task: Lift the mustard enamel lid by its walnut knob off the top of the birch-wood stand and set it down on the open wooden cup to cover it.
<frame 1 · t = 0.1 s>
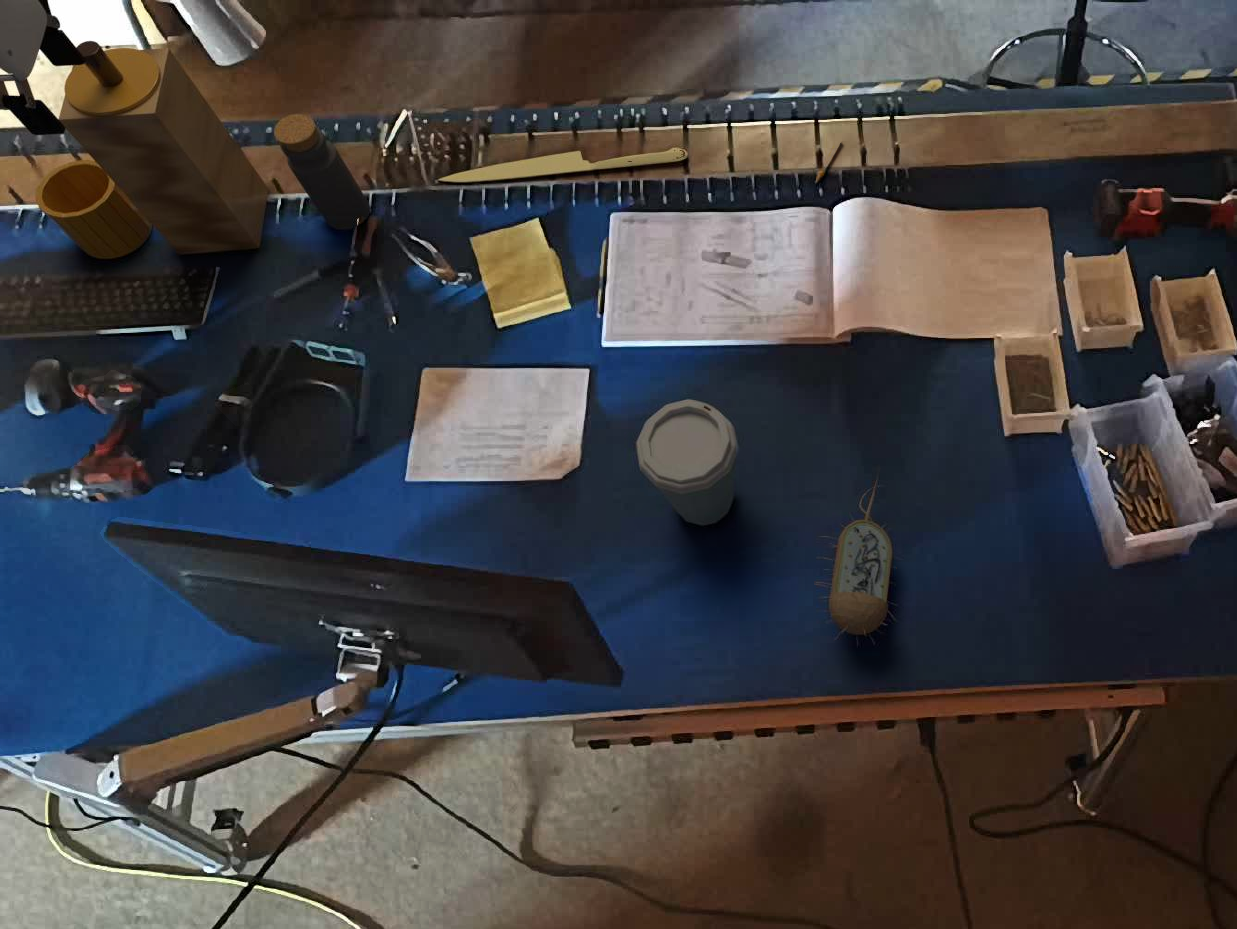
hand: (60, 97, 111), 28 cm above the table, tool pointing down, fingers open, 9 cm apart
bacterium: (862, 569, 120), on the table
lid: (114, 82, 118), point 23 cm above the table, touching stand
knife: (564, 166, 144), on the table
wooden cup: (115, 231, 137), on the table
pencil: (828, 164, 146), on the table
bottle: (348, 214, 140), on the table
disposable coffee cup: (702, 501, 123), on the table
stand: (224, 221, 138), on the table
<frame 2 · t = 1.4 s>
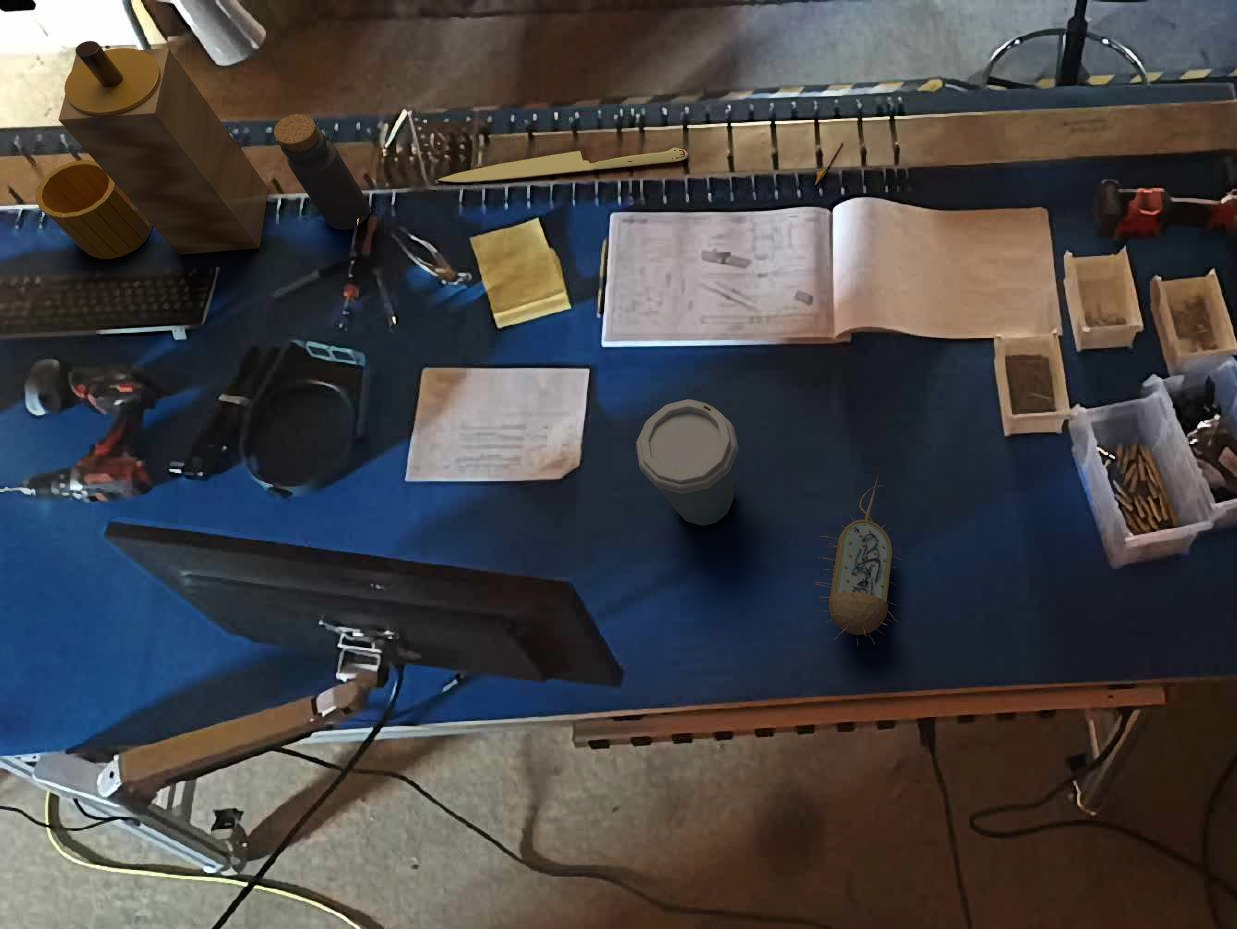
nothing on the table moved.
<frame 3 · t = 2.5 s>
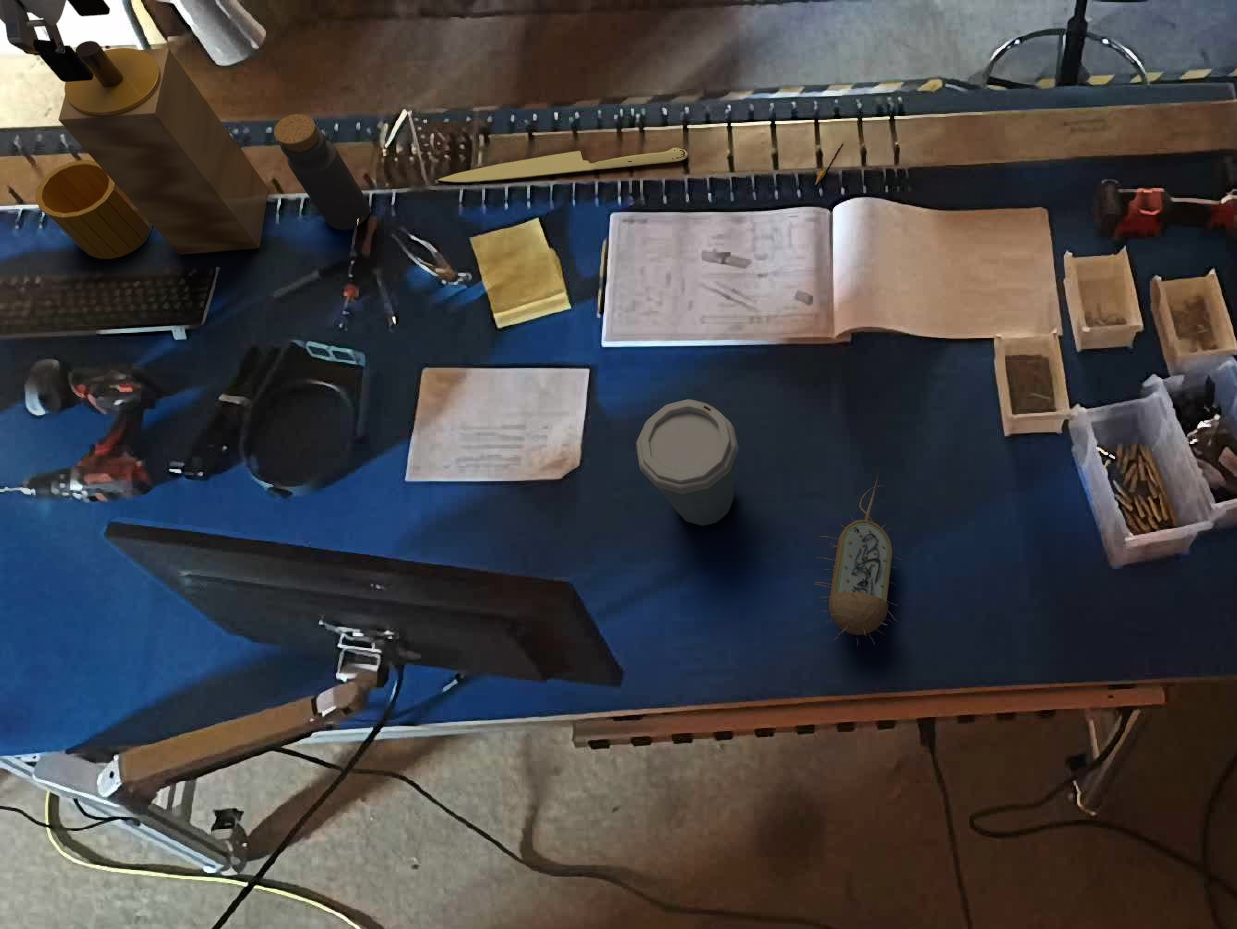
hand: (87, 45, 113), 28 cm above the table, tool pointing down, fingers open, 9 cm apart
nothing on the table moved.
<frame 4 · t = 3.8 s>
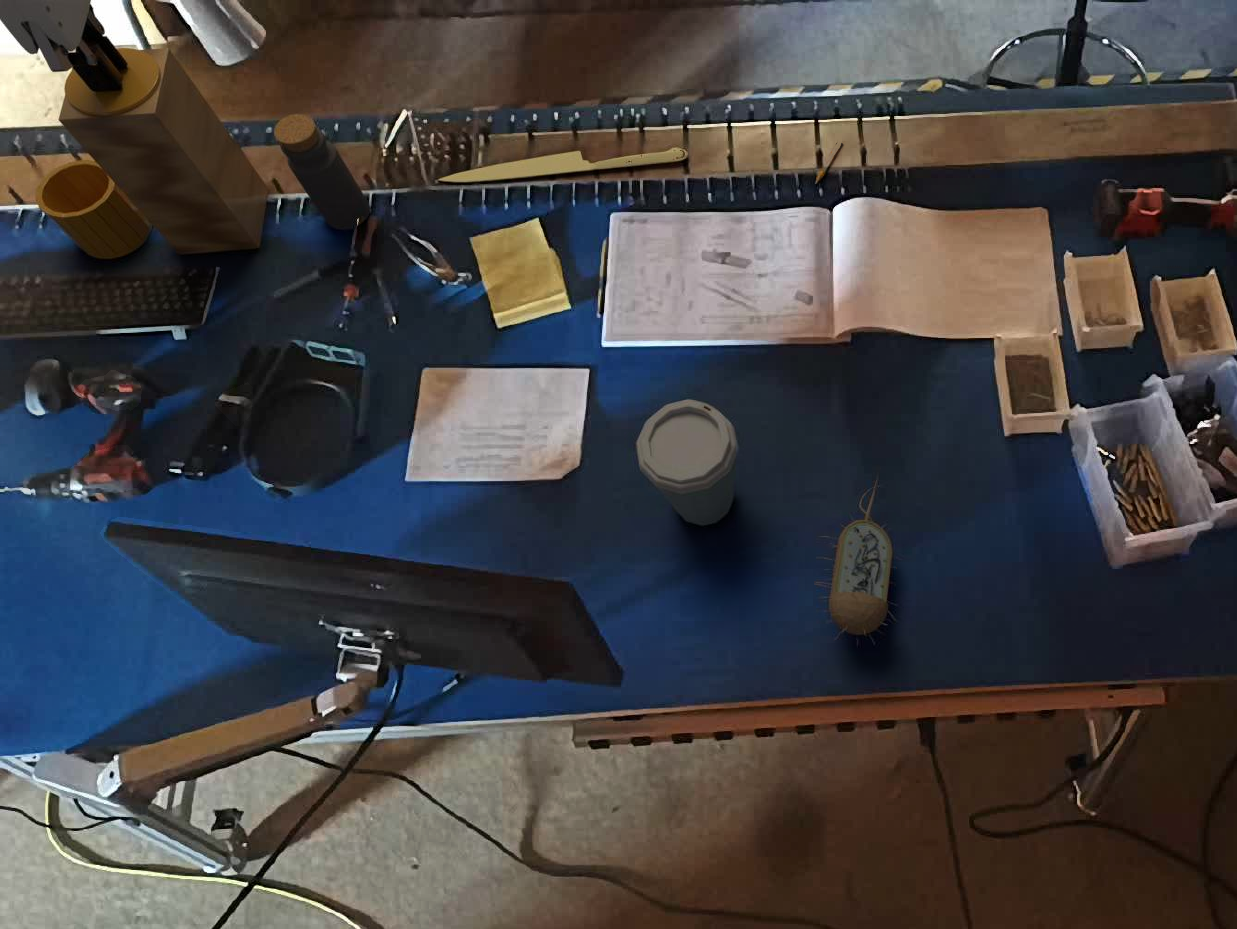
hand: (110, 77, 117), 24 cm above the table, tool pointing down, fingers closed on lid, 2 cm apart
lid: (114, 82, 118), point 23 cm above the table, touching gripper, stand
everything else where it was.
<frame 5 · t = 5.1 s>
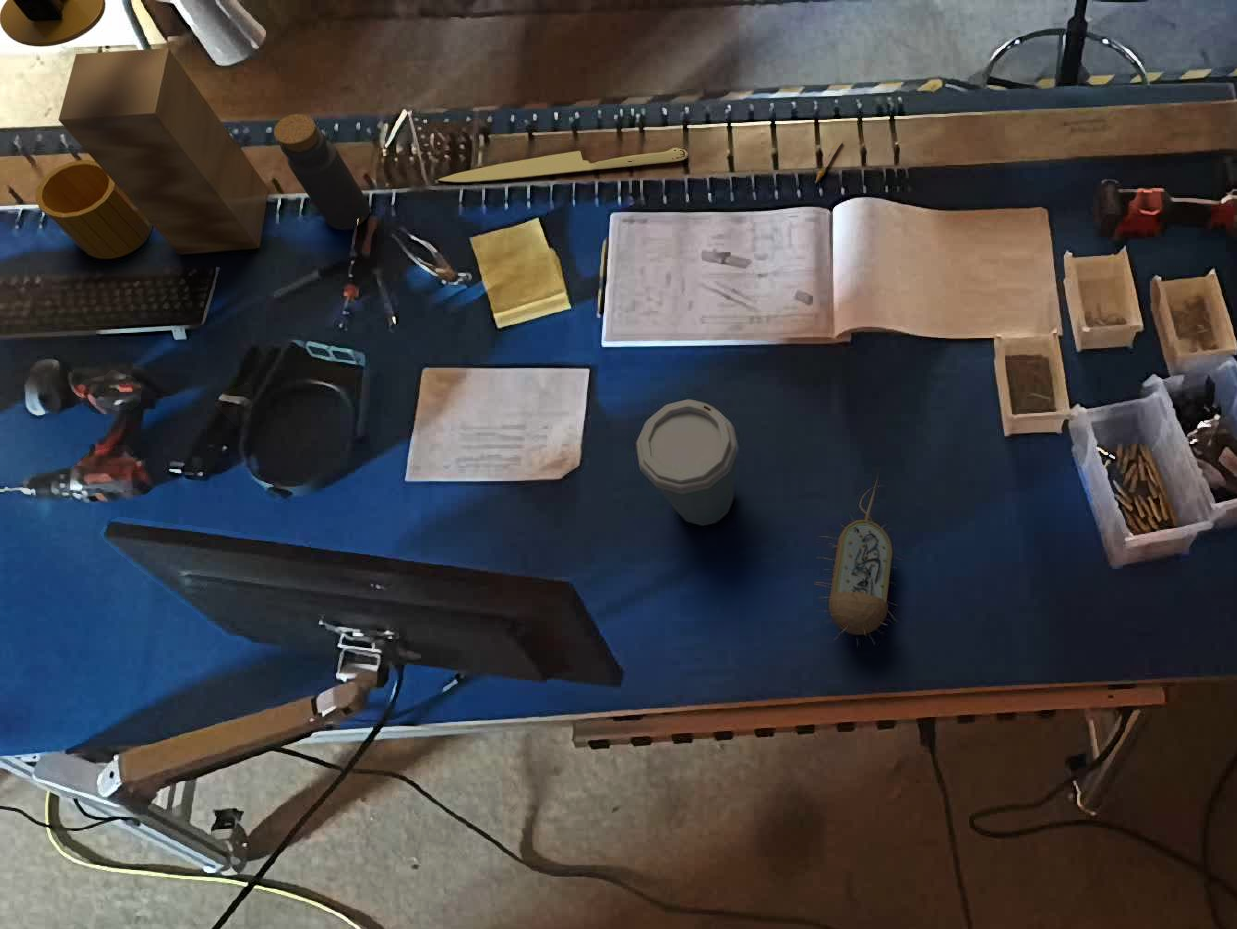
hand: (49, 6, 109), 33 cm above the table, tool pointing down, fingers closed on lid, 2 cm apart
lid: (54, 12, 109), point 32 cm above the table, touching gripper
everything else where it was.
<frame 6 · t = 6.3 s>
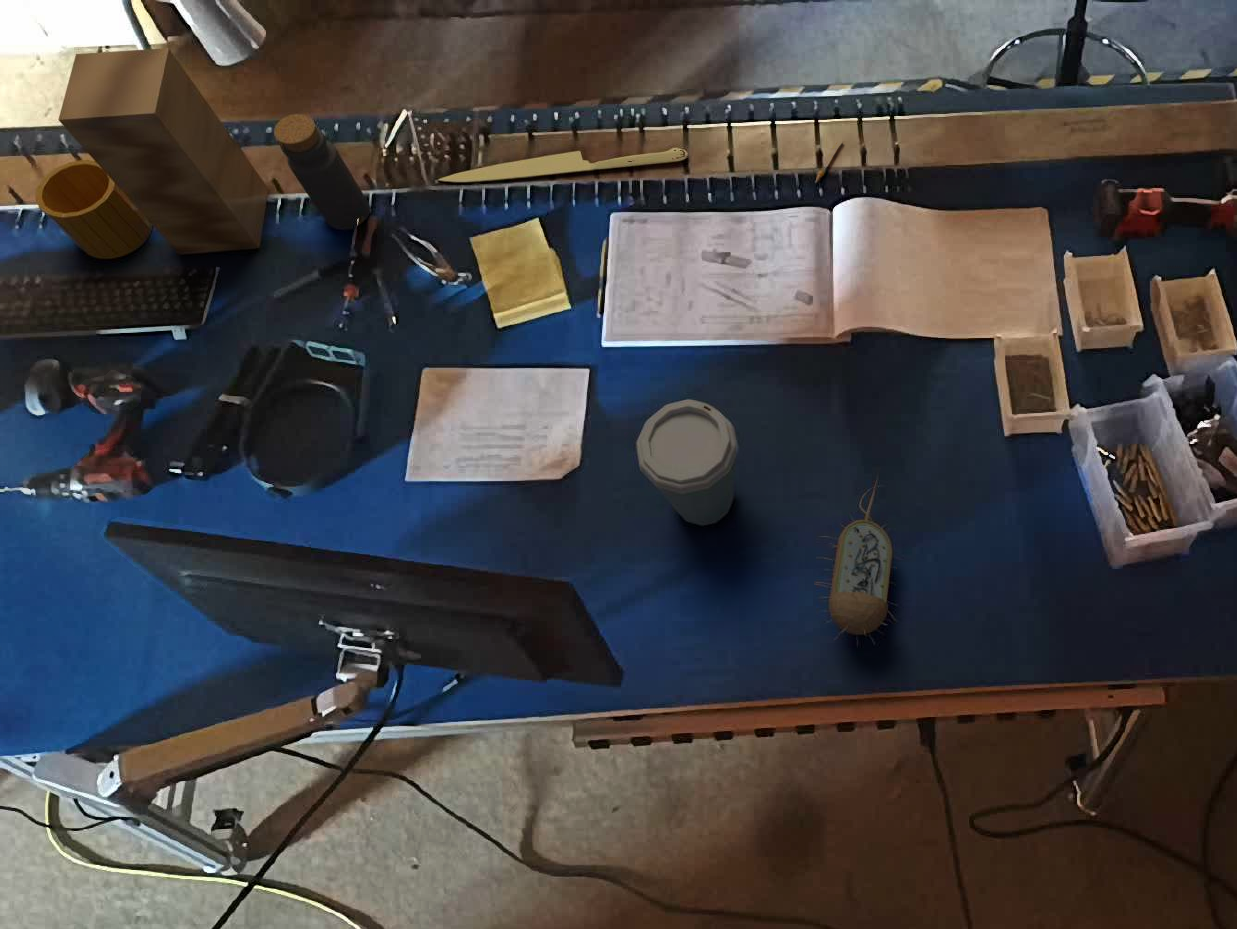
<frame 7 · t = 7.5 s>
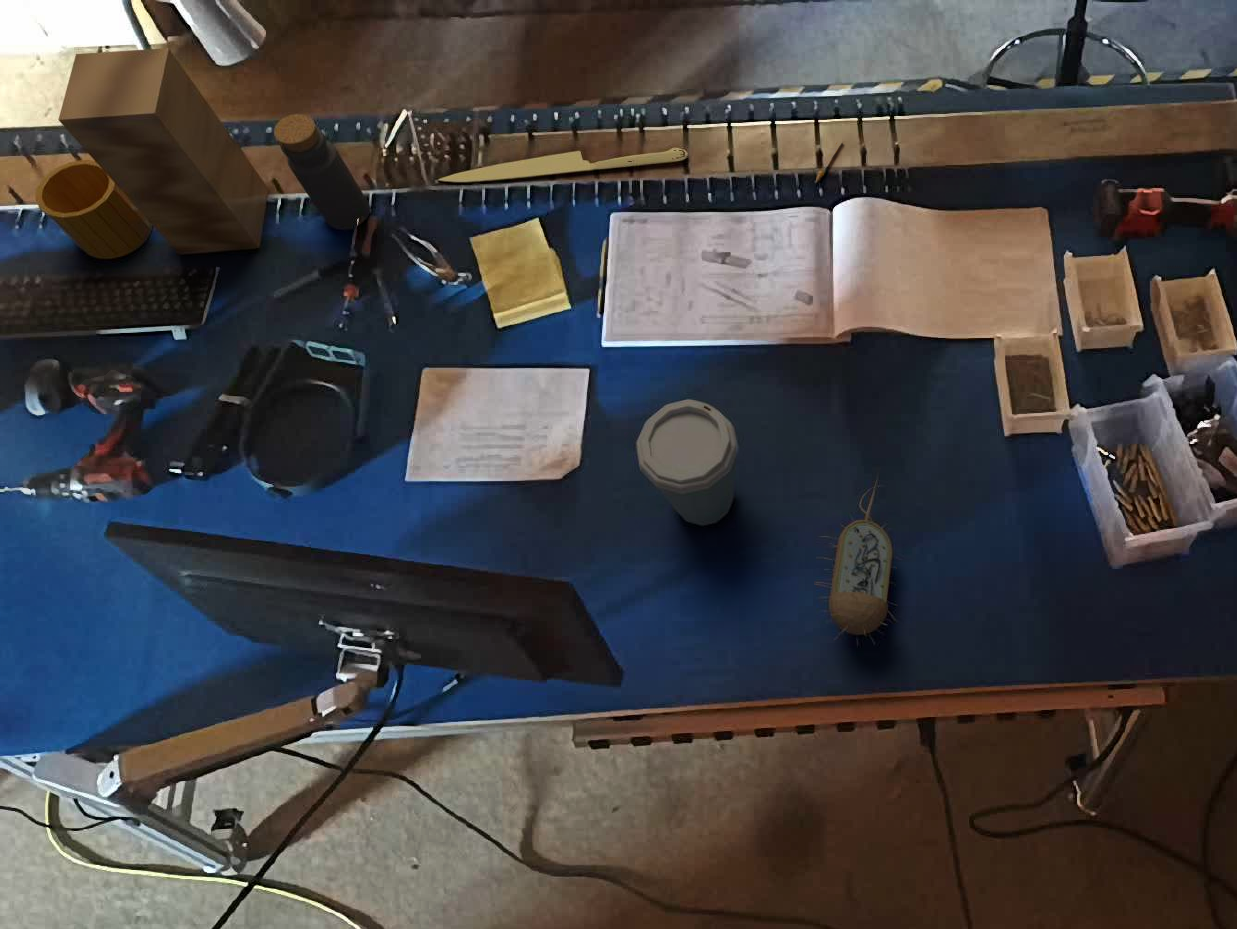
when the fingers open (9 cm above the table, at t = 11.5 s): lid stays where it is, resting on wooden cup.
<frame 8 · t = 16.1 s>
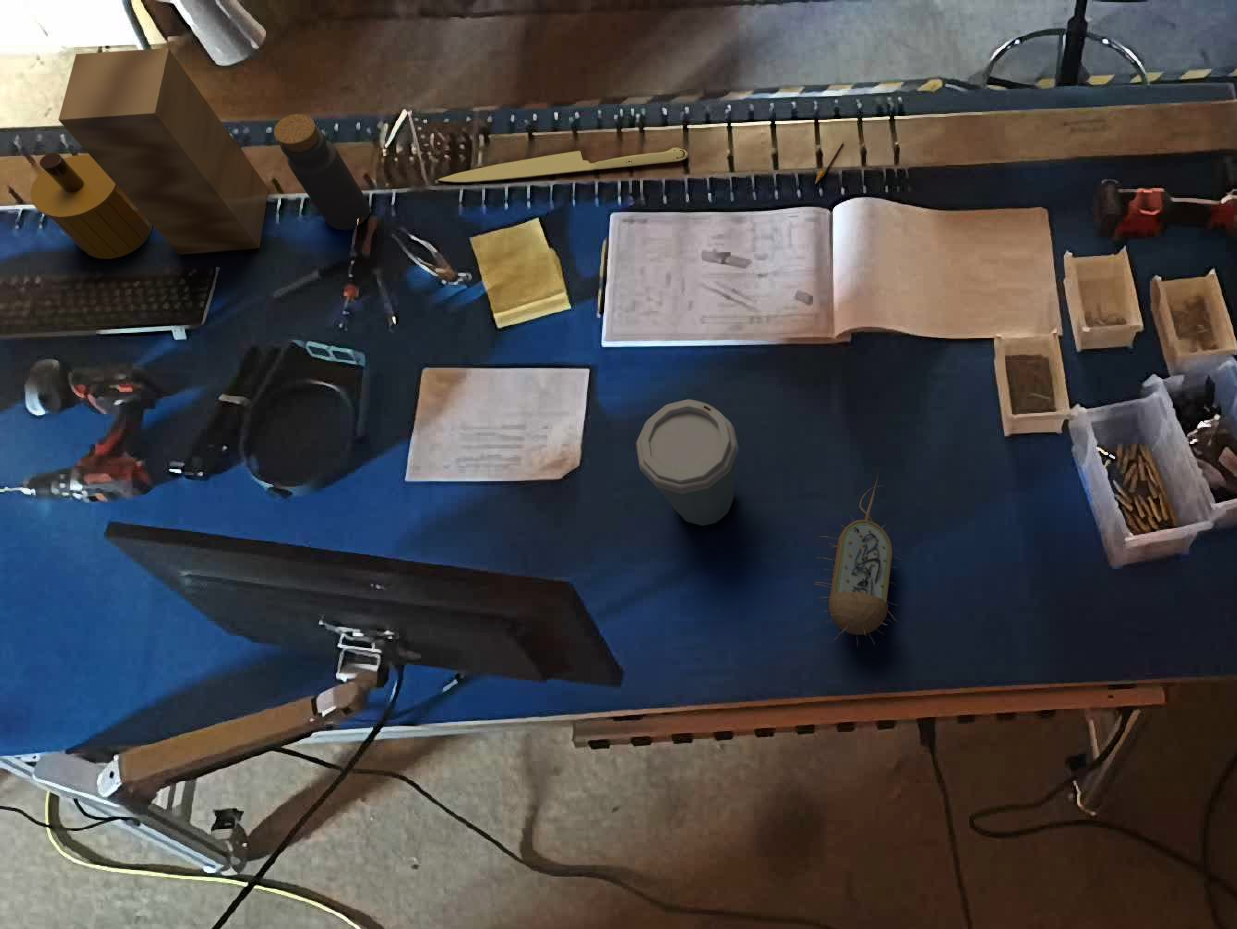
lid: (76, 187, 130), point 8 cm above the table, touching wooden cup
everything else where it was.
at the end: lid 0.1 cm off-centre on the wooden cup, point 8.0 cm above the wooden cup's base; lid tilted 0° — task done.
